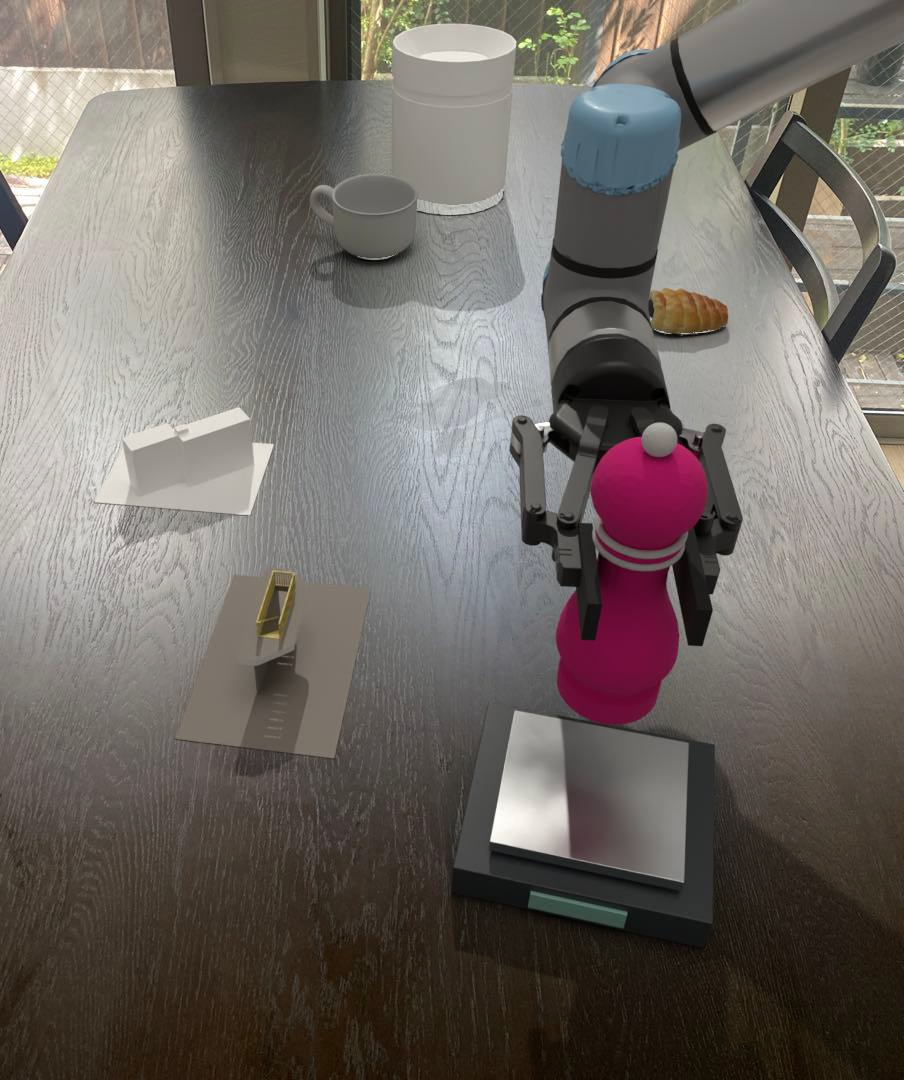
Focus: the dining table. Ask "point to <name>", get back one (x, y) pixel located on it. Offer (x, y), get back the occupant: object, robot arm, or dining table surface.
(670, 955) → the dining table surface
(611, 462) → the pepper mill
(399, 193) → the teacup
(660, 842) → the pan
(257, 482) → the white flat upright-walled piece
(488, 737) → the scale
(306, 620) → the platform
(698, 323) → the pastry
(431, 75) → the canister
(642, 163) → the robot arm
